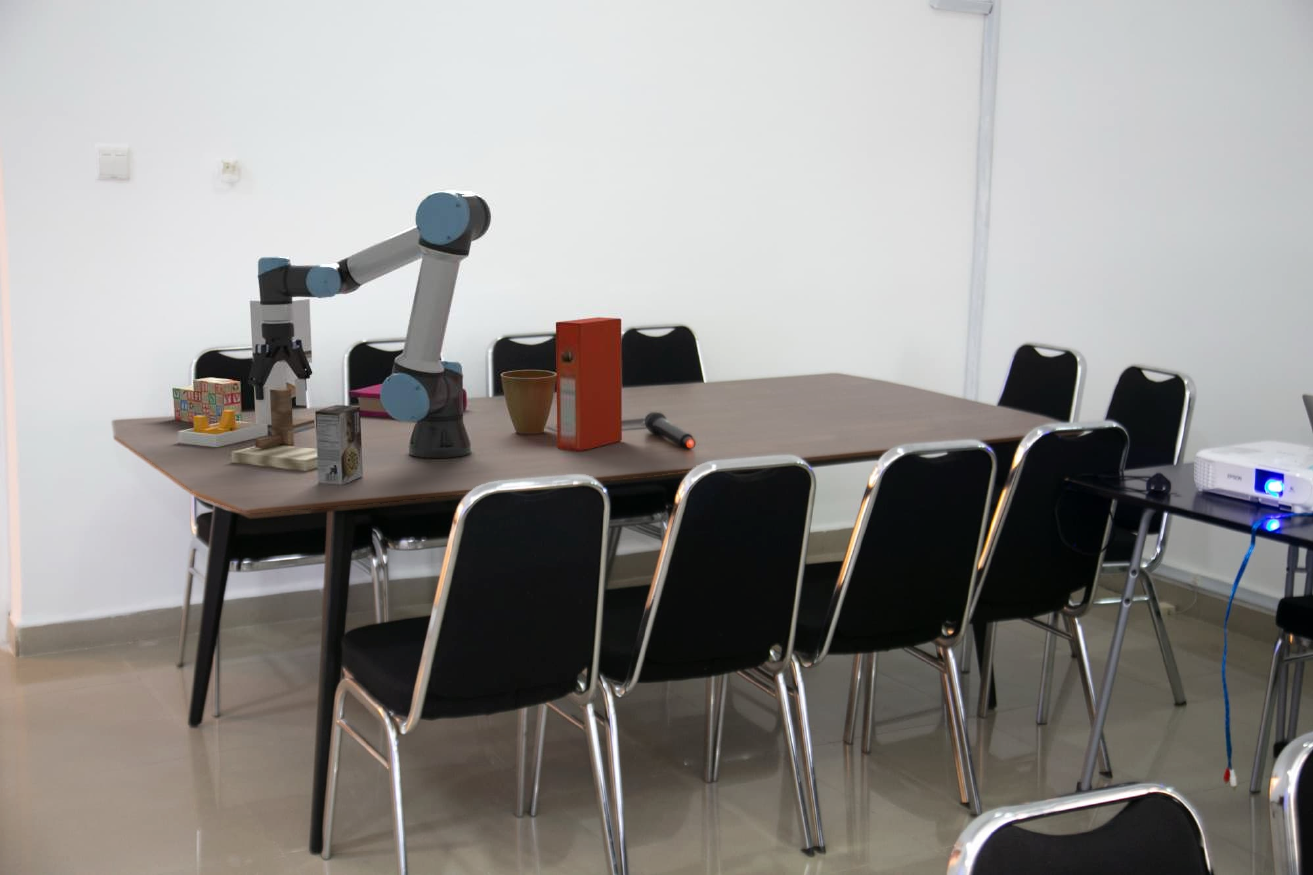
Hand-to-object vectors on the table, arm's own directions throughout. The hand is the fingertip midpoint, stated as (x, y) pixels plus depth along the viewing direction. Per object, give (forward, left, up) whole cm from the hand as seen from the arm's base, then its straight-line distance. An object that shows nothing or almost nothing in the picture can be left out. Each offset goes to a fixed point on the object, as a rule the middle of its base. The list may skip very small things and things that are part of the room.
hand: (282, 409), depth 310 cm
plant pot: (-38, -54, -11) cm, 66 cm away
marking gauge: (0, +4, -11) cm, 11 cm away
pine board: (-7, +7, -11) cm, 15 cm away
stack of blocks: (+50, -27, -11) cm, 58 cm away
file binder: (-60, -45, -11) cm, 76 cm away
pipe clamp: (+31, -10, -11) cm, 34 cm away
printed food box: (-31, +17, -11) cm, 37 cm away
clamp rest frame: (+27, -9, -11) cm, 31 cm away
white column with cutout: (+23, -28, -11) cm, 38 cm away
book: (+11, -67, -12) cm, 69 cm away
